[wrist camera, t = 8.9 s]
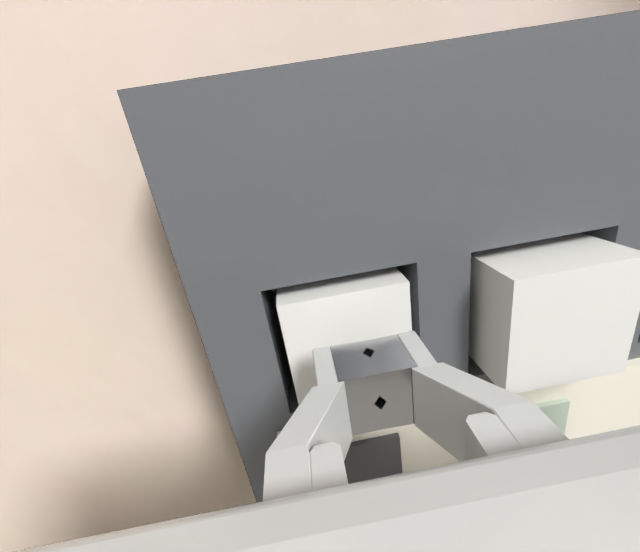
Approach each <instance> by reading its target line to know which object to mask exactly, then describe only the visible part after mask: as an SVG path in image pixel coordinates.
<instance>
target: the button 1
mask: <svg viewBox="0 0 640 552" xmlns="http://www.w3.org/2000/svg"><path fill="white" fill-rule="evenodd" d="M276 308H277V312H278V317H279V321H280V325H281V330H282V334H283V339H284V343H285V347H286V352H287V356H288V360H289V365H290V369H291V374H292V378H293V382H294V387H295V391H296V396H297V400H298V404H299V405H300V403H301V402H302V401H303V399H304V398H305V396H306V395H307V393H308V392H309V391H310V389H311V388H312V387H315V386H317V383H316V376H315V368H314V361H313V354H312V350H313V349H316V348H322V347H327V346H329V347H330V346H333V345H339V344H345V343H351V342H358V341H366V340H371V339H376V338H381V337H386V336H391V335H396V334H399V333H403V332H408V331H412V321H411V302H410V282H409V281H408V280H407V279H406V278H405V276H404V275H403V274H402V273H401V272H400V271H399V270H398V269H397V268H396V267H390V268H385V269H380V270H374V271H369V272H363V273H358V274H352V275H347V276H342V277H336V278H331V279H325V280H320V281H314V282H309V283H304V284H298V285H293V286H287V287H282V288H277V296H276Z"/></svg>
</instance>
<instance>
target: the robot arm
mask: <svg viewBox="0 0 640 552" xmlns="http://www.w3.org/2000/svg"><path fill="white" fill-rule="evenodd" d="M312 354H313V361H314V368H315V376H316V383H317V386H315V387H312V388H311V389H310V391H309V392H308V393H307V395H306V396H305V398H304V399H303V401H302V402H301V403H300V405H299V406H298V408H297V409H296V411H295V412H294V413H293V415H292V416H291V418H290V419H289V421H288V422H287V423H286V425H285V426H284V428H283V429H282V431H281V432H280V433H279V435H278V436H277V438H276V439H275V441H274V442H273V443H272V445H271V446H270V448H269V449H268V451H267V452H266V457H265V472H264V488H263V501H262V502H257V503H252V504H247V505H242V506H237V507H232V508H227V509H222V510H217V511H212V512H207V513H202V514H197V515H192V516H187V517H182V518H177V519H173V520H168V521H163V522H158V523H153V524H148V525H143V526H138V527H133V528H128V529H123V530H118V531H113V532H108V533H103V534H98V535H93V536H88V537H83V538H78V539H73V540H68V541H63V542H58V543H53V544H49V545H44V546H39V547H34V548H29V549H24V550H19V551H14V552H640V425H638V426H633V427H628V428H623V429H618V430H614V431H609V432H604V433H599V434H594V435H589V436H584V437H579V438H574V439H568V438H567V437H566V436H565V434H564V433H563V432H562V431H561V430H560V429H559V428H558V427H557V426H556V425H555V424H554V423H553V422H552V421H551V420H550V419H549V418H548V417H547V416H546V415H545V414H544V413H543V412H542V411H541V409H540V408H539V407H538V406H537V405H536V404H535V403H534V402H533V401H531V400H528V399H526V398H524V397H521V396H519V395H517V394H515V393H512V392H510V391H508V390H505V389H503V388H501V387H498V386H496V385H494V384H491V383H489V382H487V381H485V380H482V379H480V378H478V377H475V376H473V375H471V374H468V373H466V372H464V371H461V370H459V369H457V368H455V367H452V366H450V365H448V364H445V363H443V362H442V363H437V362H436V360H435V359H434V357H433V356H432V355H431V353H430V352H429V350H428V349H427V348H426V346H425V345H424V343H423V342H422V341H421V339H420V338H419V336H418V335H417V334H416V332H415V331H413V330H412V331H408V332H403V333H399V334H396V335H391V336H386V337H381V338H376V339H371V340H366V341H358V342H351V343H345V344H339V345H333V346H330V347H329V346H327V347H322V348H316V349H313V350H312ZM411 424H415V426H416V427H417V428H418V429H420V430H421V431H422V432H423V433H425V434H426V435H427V436H428V437H430V438H431V439H432V440H434V441H435V442H436V443H437V444H439V445H440V446H441V447H442V448H444V449H445V450H446V451H447V452H449V453H450V454H451V455H452V456H454V457H455V458H456V459H457V460H459V462H454V463H449V464H444V465H439V466H435V467H430V468H425V469H420V470H415V471H410V472H405V473H400V474H395V475H390V476H385V477H380V478H375V479H370V480H366V481H361V482H356V483H351V484H348V479H347V474H346V469H345V465H344V460H345V458H346V455H347V452H348V449H349V447H350V444H351V441H352V439H353V437H352V436H355V435H359V434H364V433H368V432H373V431H377V430H382V429H387V428H393V427H399V426H405V425H411Z"/></svg>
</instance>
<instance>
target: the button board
mask: <svg viewBox="0 0 640 552" xmlns="http://www.w3.org/2000/svg"><path fill="white" fill-rule="evenodd" d="M117 93H118V96H119V98H120V101H121V104H122V107H123V110H124V113H125V116H126V119H127V122H128V125H129V128H130V131H131V134H132V137H133V140H134V143H135V145H136V148H137V151H138V154H139V157H140V160H141V163H142V166H143V169H144V172H145V175H146V178H147V181H148V184H149V187H150V190H151V192H152V195H153V198H154V201H155V204H156V207H157V210H158V213H159V216H160V219H161V222H162V225H163V228H164V231H165V234H166V237H167V239H168V242H169V245H170V248H171V251H172V254H173V257H174V260H175V263H176V266H177V269H178V272H179V275H180V278H181V281H182V284H183V286H184V289H185V292H186V295H187V298H188V301H189V304H190V307H191V310H192V313H193V316H194V319H195V322H196V325H197V328H198V331H199V333H200V336H201V339H202V342H203V345H204V348H205V351H206V354H207V357H208V360H209V363H210V366H211V369H212V372H213V375H214V378H215V380H216V383H217V386H218V389H219V392H220V395H221V398H222V401H223V404H224V407H225V410H226V413H227V416H228V419H229V422H230V425H231V427H232V430H233V433H234V436H235V439H236V442H237V445H238V448H239V451H240V454H241V457H242V460H243V463H244V466H245V469H246V472H247V474H248V477H249V480H250V483H251V486H252V489H253V492H254V495H255V498H256V501H257V502H262V501H263V488H264V472H265V457H266V452H267V451H268V449H269V448H270V446H271V445H272V443H273V442H274V441H275V439H276V438H277V436H278V435H279V433H280V432H281V431H282V429H283V428H284V426H285V425H286V423H287V422H288V421H289V419H290V418H291V416H292V415H293V413H294V412H295V411H296V409H297V408H298V406H299V404H298V400H297V396H296V391H295V387H294V382H293V378H292V374H291V369H290V365H289V360H288V356H287V352H286V347H285V343H284V339H283V334H282V330H281V325H280V321H279V317H278V312H277V308H276V296H277V288H282V287H287V286H293V285H298V284H304V283H309V282H314V281H320V280H325V279H331V278H336V277H342V276H347V275H352V274H358V273H363V272H369V271H374V270H380V269H385V268H390V267H396V268H397V269H398V270H399V271H400V272H401V273H402V274H403V275H404V276H405V278H406V279H407V280H408V281H409V282H410V302H411V321H412V330H413V331H415V332H416V334H417V335H418V336H419V338H420V339H421V341H422V342H423V343H424V345H425V346H426V348H427V349H428V350H429V352H430V353H431V355H432V356H433V357H434V359H435V360H436V362H437V363H442V362H443V363H445V364H448V365H450V366H452V367H455V368H457V369H459V370H461V371H464V372H466V373H468V374H471V375H473V376H475V377H478V378H480V379H482V380H485V381H487V382H489V383H491V384H494V383H493V382H492V381H491V380H490V378H489V377H488V376H487V375H486V374H485V373H484V372H483V371H482V369H481V368H480V367H479V366H478V365H477V364H476V363H475V362H474V360H473V359H472V358H471V357H470V356H469V355H468V353H469V313H470V272H471V253H472V252H477V251H483V250H488V249H494V248H499V247H505V246H510V245H515V244H521V243H526V242H532V241H537V240H543V239H548V238H553V237H559V236H564V235H570V234H575V233H583V234H586V235H590V236H593V237H596V238H600V239H603V240H607V241H610V242H613V243H617V244H620V245H623V246H627V247H630V248H633V249H637V250H640V10H636V11H629V12H623V13H616V14H610V15H603V16H597V17H590V18H584V19H577V20H570V21H564V22H557V23H551V24H544V25H538V26H531V27H525V28H518V29H512V30H505V31H499V32H492V33H486V34H479V35H473V36H466V37H460V38H453V39H447V40H440V41H434V42H427V43H421V44H414V45H408V46H401V47H395V48H388V49H382V50H375V51H369V52H362V53H356V54H349V55H343V56H336V57H330V58H323V59H316V60H310V61H303V62H297V63H290V64H284V65H277V66H271V67H264V68H258V69H251V70H245V71H238V72H232V73H225V74H219V75H212V76H206V77H199V78H193V79H186V80H180V81H173V82H167V83H160V84H154V85H147V86H141V87H134V88H128V89H121V90H117ZM494 385H495V384H494ZM517 395H519V396H521V397H524V398H526V399H528V400H531V401H533V402H534V403H535V404H536V405H537V406H538V407H539V408H540V409H541V411H542V412H543V413H544V414H545V415H546V416H547V417H548V418H549V419H550V420H551V421H552V422H553V423H554V424H555V425H556V426H557V427H558V428H559V429H560V430H561V431H562V432H563V433H564V434H565V436H566V437H567V438H568V439H574V438H579V437H584V436H589V435H594V434H599V433H604V432H609V431H614V430H618V429H623V428H628V427H633V426H638V425H640V312H639V316H638V320H637V324H636V328H635V332H634V336H633V340H632V344H631V348H630V352H629V356H628V360H627V364H626V368H625V371H624V372H620V373H615V374H610V375H605V376H600V377H595V378H590V379H585V380H581V381H576V382H571V383H566V384H561V385H556V386H551V387H546V388H542V389H537V390H532V391H527V392H522V393H517ZM352 437H353V439H352V441H351V444H350V447H349V449H348V452H347V455H346V458H345V460H344V465H345V469H346V474H347V479H348V484H351V483H356V482H361V481H366V480H370V479H375V478H380V477H385V476H390V475H395V474H400V473H405V472H410V471H415V470H420V469H425V468H430V467H435V466H439V465H444V464H449V463H454V462H459V460H457V459H456V458H455V457H454V456H452V455H451V454H450V453H449V452H447V451H446V450H445V449H444V448H442V447H441V446H440V445H439V444H437V443H436V442H435V441H434V440H432V439H431V438H430V437H428V436H427V435H426V434H425V433H423V432H422V431H421V430H420V429H418V428H417V427H416V426H415V424H411V425H405V426H399V427H393V428H387V429H382V430H377V431H373V432H368V433H364V434H359V435H355V436H352Z"/></svg>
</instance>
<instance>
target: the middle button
mask: <svg viewBox="0 0 640 552" xmlns="http://www.w3.org/2000/svg"><path fill="white" fill-rule="evenodd" d="M639 312H640V250H637V249H633V248H630V247H627V246H623V245H620V244H617V243H613V242H610V241H607V240H603V239H600V238H596V237H593V236H590V235H586V234H583V233H575V234H570V235H564V236H559V237H553V238H548V239H543V240H537V241H532V242H526V243H521V244H515V245H510V246H505V247H499V248H494V249H488V250H483V251H477V252H472V253H471V272H470V313H469V353H468V355H469V356H470V357H471V358H472V359H473V360H474V362H475V363H476V364H477V365H478V366H479V367H480V368H481V369H482V371H483V372H484V373H485V374H486V375H487V376H488V377H489V378H490V380H491V381H492V382H493V383H494V384H495V385H496V386H498V387H501V388H503V389H505V390H508V391H510V392H512V393H515V394H517V393H522V392H527V391H532V390H537V389H542V388H546V387H551V386H556V385H561V384H566V383H571V382H576V381H581V380H585V379H590V378H595V377H600V376H605V375H610V374H615V373H620V372H624V371H625V368H626V364H627V360H628V356H629V352H630V348H631V344H632V340H633V336H634V332H635V328H636V324H637V320H638V316H639Z"/></svg>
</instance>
